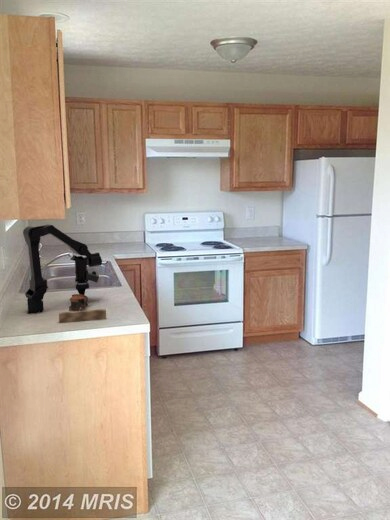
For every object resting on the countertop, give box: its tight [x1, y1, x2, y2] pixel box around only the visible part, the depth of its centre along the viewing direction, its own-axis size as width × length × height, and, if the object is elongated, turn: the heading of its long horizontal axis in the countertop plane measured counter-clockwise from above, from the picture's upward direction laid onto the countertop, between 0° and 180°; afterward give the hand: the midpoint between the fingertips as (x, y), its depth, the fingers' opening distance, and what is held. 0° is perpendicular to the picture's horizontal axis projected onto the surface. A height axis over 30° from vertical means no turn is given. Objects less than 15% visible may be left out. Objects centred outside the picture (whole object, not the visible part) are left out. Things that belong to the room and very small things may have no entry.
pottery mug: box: [68, 293, 89, 312], centre depth 224 cm, size 12×10×8 cm
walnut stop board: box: [58, 308, 107, 324], centre depth 207 cm, size 20×2×4 cm, turn 105°
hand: (82, 299), depth 235 cm, fingers closed
